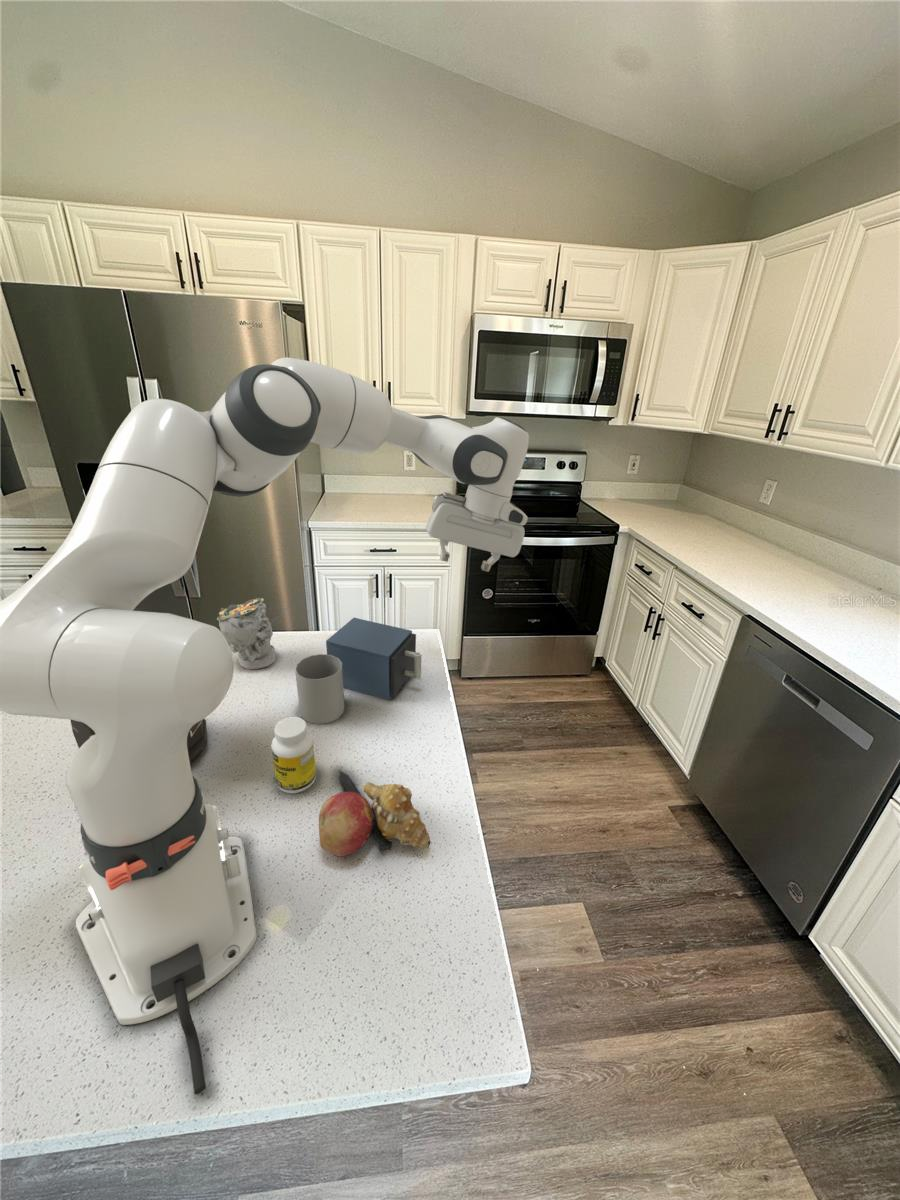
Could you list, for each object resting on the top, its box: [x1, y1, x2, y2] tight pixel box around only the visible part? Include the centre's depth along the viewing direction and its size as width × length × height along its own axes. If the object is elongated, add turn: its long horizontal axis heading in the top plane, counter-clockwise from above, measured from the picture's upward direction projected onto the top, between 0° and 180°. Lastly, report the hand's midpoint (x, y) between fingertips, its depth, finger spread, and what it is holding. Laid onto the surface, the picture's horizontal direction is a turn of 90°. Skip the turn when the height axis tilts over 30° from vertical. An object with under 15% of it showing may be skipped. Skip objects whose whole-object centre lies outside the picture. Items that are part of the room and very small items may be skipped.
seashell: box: [362, 781, 431, 851], centre depth 70 cm, size 9×8×10 cm
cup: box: [294, 653, 345, 725], centre depth 92 cm, size 8×8×10 cm
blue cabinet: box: [325, 617, 413, 701], centre depth 103 cm, size 14×11×10 cm
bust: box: [216, 592, 308, 670], centre depth 106 cm, size 11×10×15 cm
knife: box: [338, 769, 393, 852], centre depth 74 cm, size 18×1×3 cm
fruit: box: [318, 791, 375, 857], centre depth 68 cm, size 8×8×8 cm
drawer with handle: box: [390, 633, 422, 698], centre depth 102 cm, size 17×11×9 cm, turn 70°
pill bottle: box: [270, 716, 317, 794], centre depth 76 cm, size 6×6×11 cm
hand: (464, 565), depth 103 cm, fingers open, 8 cm apart
